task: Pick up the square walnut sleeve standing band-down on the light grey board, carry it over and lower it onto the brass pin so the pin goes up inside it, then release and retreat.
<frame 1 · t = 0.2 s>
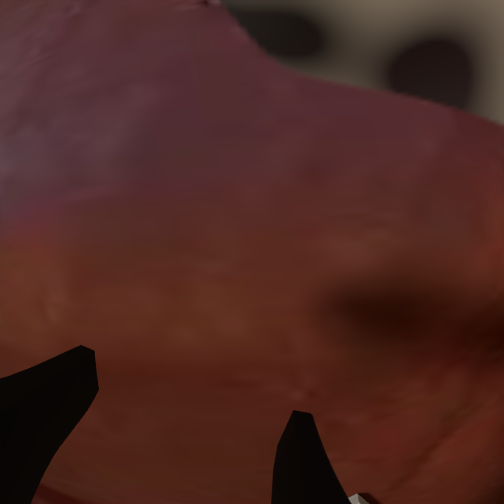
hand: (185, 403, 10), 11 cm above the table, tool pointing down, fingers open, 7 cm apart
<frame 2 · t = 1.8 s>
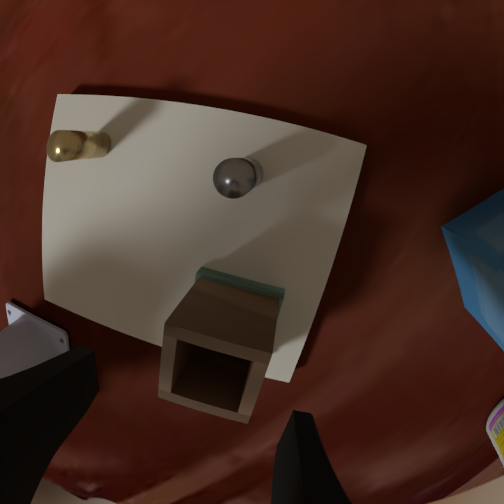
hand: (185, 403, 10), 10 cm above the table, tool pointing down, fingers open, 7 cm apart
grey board: (169, 231, 19), on the table
perfume bottle: (488, 246, 16), on the table
steel pin: (250, 171, 17), resting on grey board
walnut sleeve: (233, 314, 18), point 1 cm above the table, touching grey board
brass pin: (110, 144, 18), resting on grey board
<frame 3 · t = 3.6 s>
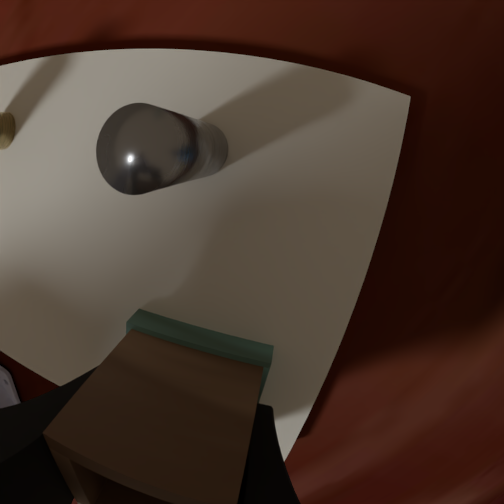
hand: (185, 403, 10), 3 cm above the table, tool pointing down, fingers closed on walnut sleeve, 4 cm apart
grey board: (97, 251, 11), on the table
steel pin: (211, 150, 10), resting on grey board
walnut sleeve: (196, 379, 11), point 1 cm above the table, touching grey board, gripper
brass pin: (23, 130, 10), resting on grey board
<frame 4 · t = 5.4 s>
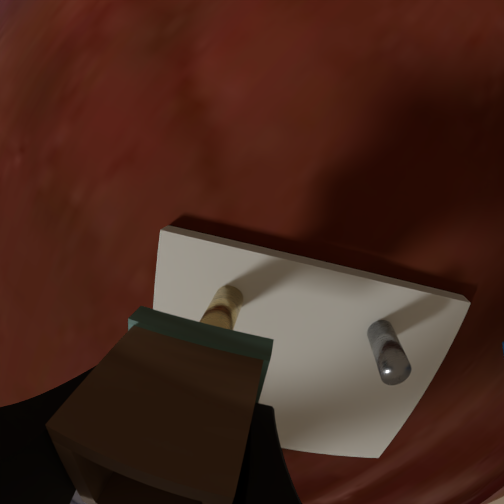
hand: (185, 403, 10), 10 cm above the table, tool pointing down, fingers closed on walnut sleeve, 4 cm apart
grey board: (295, 366, 20), on the table
steel pin: (375, 321, 18), resting on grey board
walnut sleeve: (198, 375, 11), point 8 cm above the table, touching gripper
brass pin: (233, 289, 19), resting on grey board
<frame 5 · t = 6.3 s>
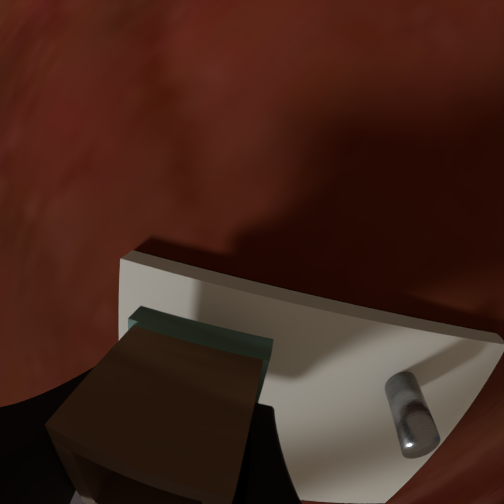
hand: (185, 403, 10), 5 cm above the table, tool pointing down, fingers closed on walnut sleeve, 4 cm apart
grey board: (294, 418, 16), on the table
steel pin: (394, 369, 14), resting on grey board
walnut sleeve: (198, 374, 11), point 3 cm above the table, touching gripper
when the fingers open (4 cm above the table, at t = 7.0 s): walnut sleeve stays where it is, resting on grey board.
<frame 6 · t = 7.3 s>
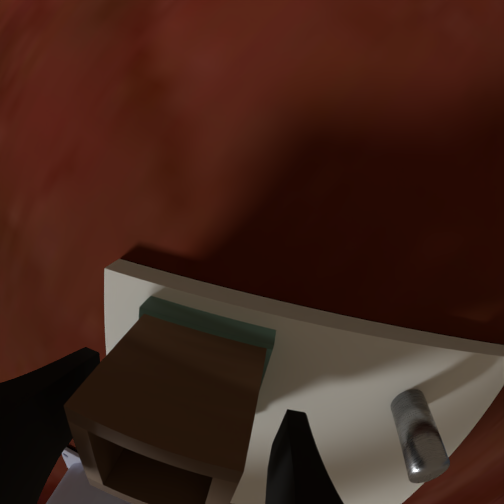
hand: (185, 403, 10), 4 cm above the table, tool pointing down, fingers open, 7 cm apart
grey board: (293, 435, 14), on the table
steel pin: (401, 385, 13), resting on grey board
walnut sleeve: (202, 363, 12), point 1 cm above the table, touching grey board
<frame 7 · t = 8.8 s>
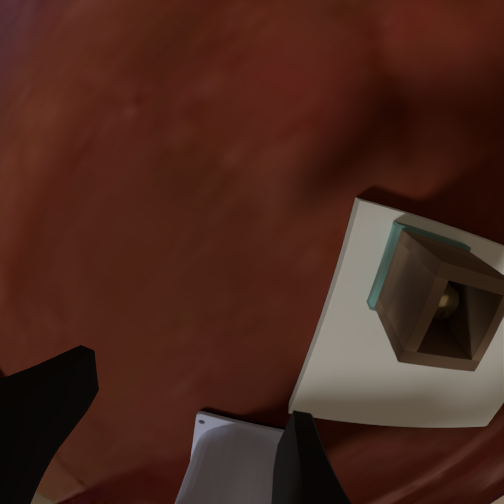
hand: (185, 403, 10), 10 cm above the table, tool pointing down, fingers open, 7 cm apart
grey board: (445, 340, 18), on the table
walnut sleeve: (417, 272, 16), point 1 cm above the table, touching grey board
brass pin: (410, 265, 17), resting on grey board
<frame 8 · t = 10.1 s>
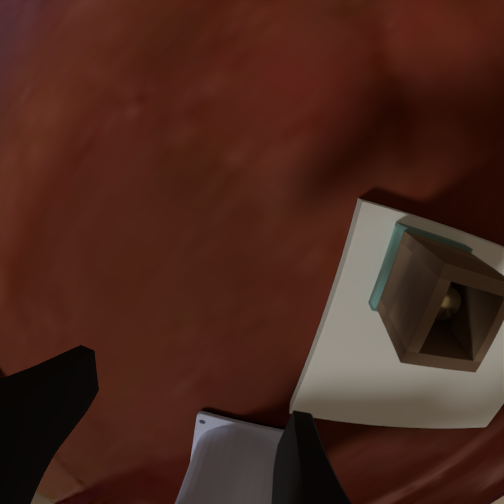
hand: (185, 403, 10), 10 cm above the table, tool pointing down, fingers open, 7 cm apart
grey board: (446, 341, 18), on the table
walnut sleeve: (418, 273, 16), point 1 cm above the table, touching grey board
brass pin: (412, 266, 17), resting on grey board
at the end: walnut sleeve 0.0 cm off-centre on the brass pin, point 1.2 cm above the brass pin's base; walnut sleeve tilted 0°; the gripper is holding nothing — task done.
